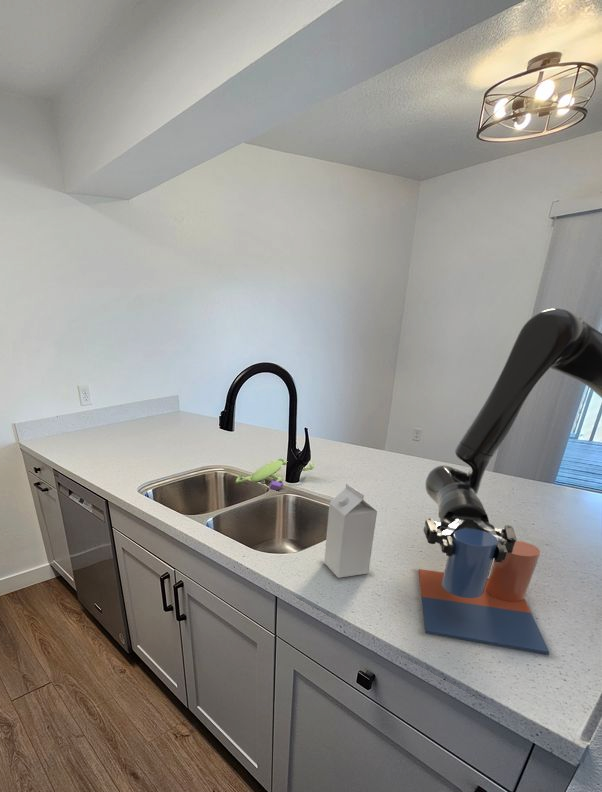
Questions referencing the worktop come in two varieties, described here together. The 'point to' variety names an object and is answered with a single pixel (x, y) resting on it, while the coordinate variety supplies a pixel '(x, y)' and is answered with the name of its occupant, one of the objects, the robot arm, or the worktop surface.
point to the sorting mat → (478, 617)
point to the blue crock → (469, 563)
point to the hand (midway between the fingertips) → (475, 554)
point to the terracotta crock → (513, 573)
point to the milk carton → (349, 534)
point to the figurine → (269, 474)
